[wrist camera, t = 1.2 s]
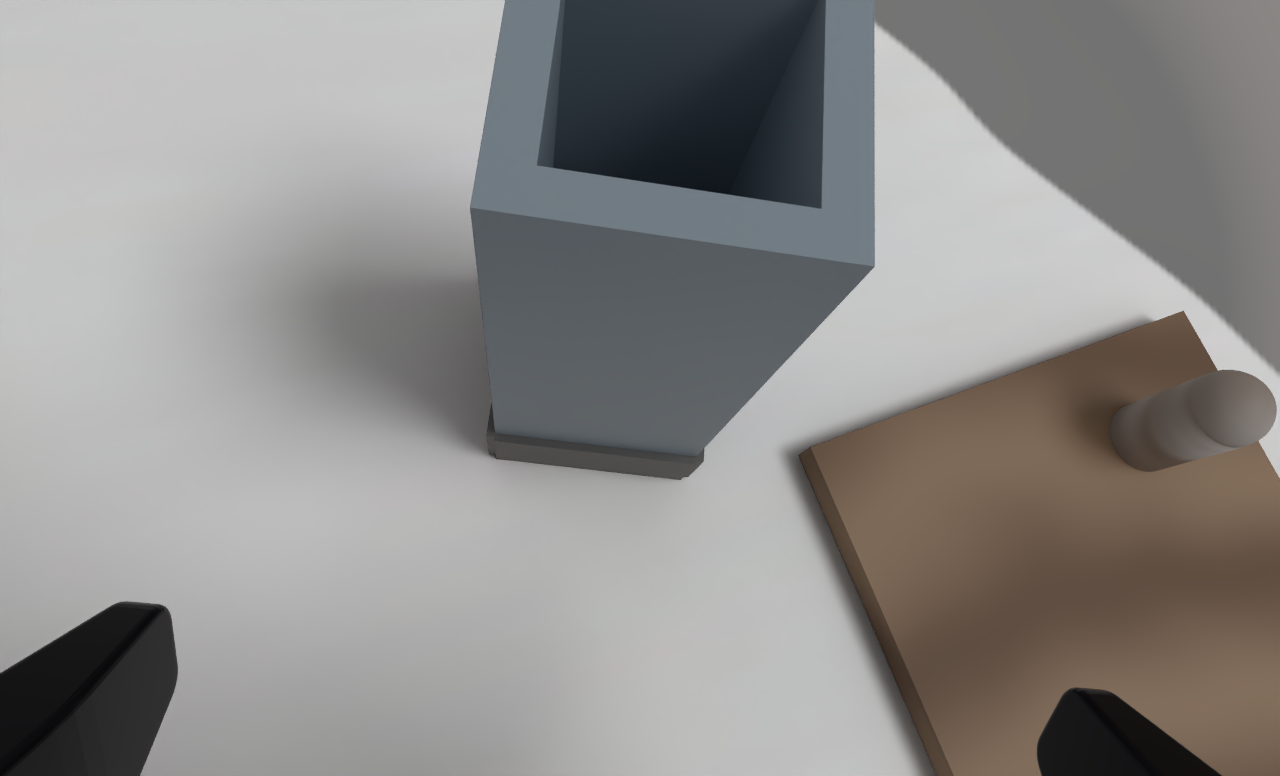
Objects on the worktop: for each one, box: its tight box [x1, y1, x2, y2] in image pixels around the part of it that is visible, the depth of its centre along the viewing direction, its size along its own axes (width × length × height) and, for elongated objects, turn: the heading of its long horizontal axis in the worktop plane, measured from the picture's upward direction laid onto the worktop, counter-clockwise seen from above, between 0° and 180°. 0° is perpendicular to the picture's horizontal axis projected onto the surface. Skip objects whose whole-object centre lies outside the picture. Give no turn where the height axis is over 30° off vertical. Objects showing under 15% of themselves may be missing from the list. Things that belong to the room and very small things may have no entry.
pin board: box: [799, 311, 1280, 776], centre depth 21 cm, size 14×13×5 cm
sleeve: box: [470, 0, 875, 480], centre depth 17 cm, size 5×5×13 cm
